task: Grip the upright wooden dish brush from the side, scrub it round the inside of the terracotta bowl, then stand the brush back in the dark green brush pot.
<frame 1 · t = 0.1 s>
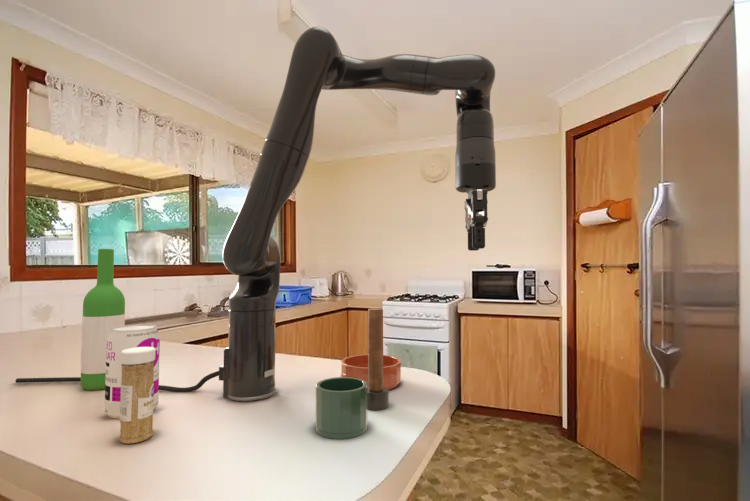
hand: (475, 249, 76), 29 cm above the countertop, tool pointing down, fingers open, 8 cm apart
brush pot: (341, 428, 64), on the countertop
supplement can: (132, 412, 71), on the countertop
brush: (375, 405, 74), on the countertop
bowl: (371, 383, 88), on the countertop
wine bottle: (102, 386, 87), on the countertop
sprinkles bottle: (136, 439, 60), on the countertop
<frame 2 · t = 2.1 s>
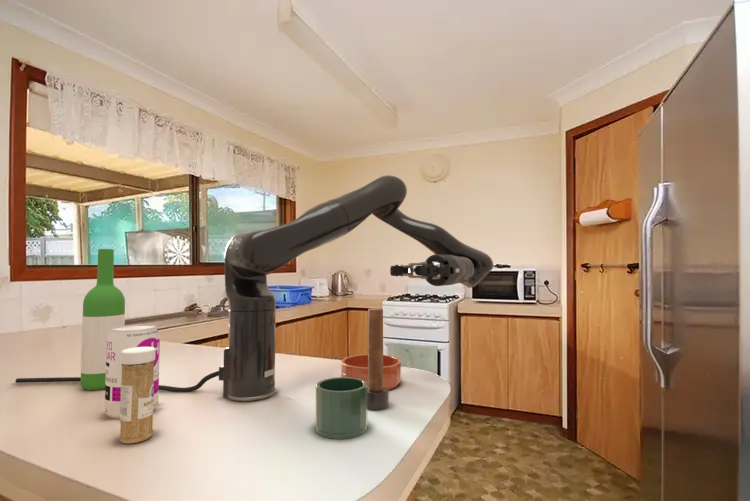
hand: (408, 270, 84), 25 cm above the countertop, tool horizontal, fingers open, 8 cm apart
nothing on the countertop moved.
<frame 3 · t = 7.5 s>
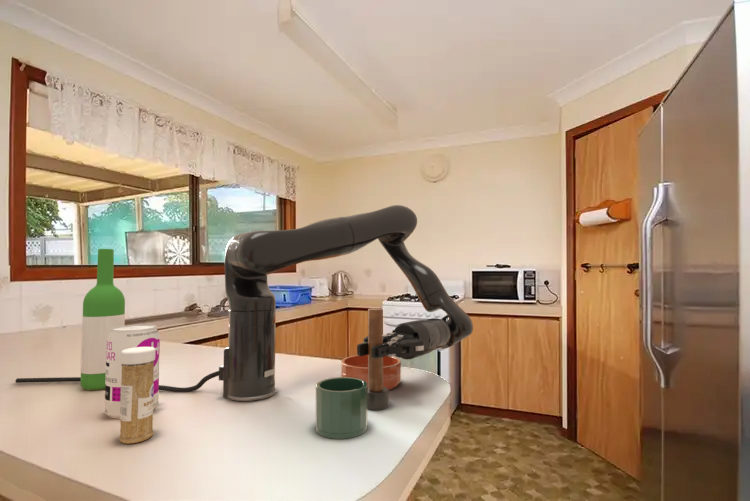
hand: (366, 351, 72), 10 cm above the countertop, tool horizontal, fingers closed on brush, 3 cm apart
brush: (375, 405, 74), on the countertop, touching gripper
everything else where it was.
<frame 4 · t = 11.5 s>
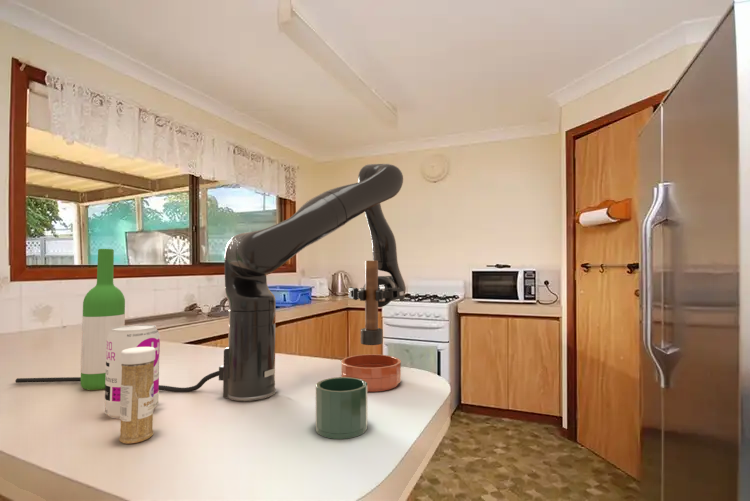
hand: (369, 295, 84), 20 cm above the countertop, tool horizontal, fingers closed on brush, 3 cm apart
brush: (371, 343, 86), point 9 cm above the countertop, touching gripper
everything else where it was.
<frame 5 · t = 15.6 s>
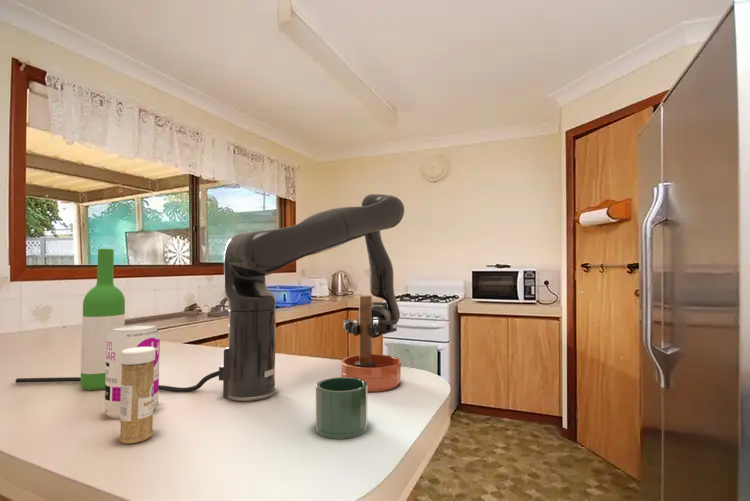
hand: (363, 331, 87), 12 cm above the countertop, tool horizontal, fingers closed on brush, 3 cm apart
brush: (365, 376, 89), point 1 cm above the countertop, touching gripper
everything else where it was.
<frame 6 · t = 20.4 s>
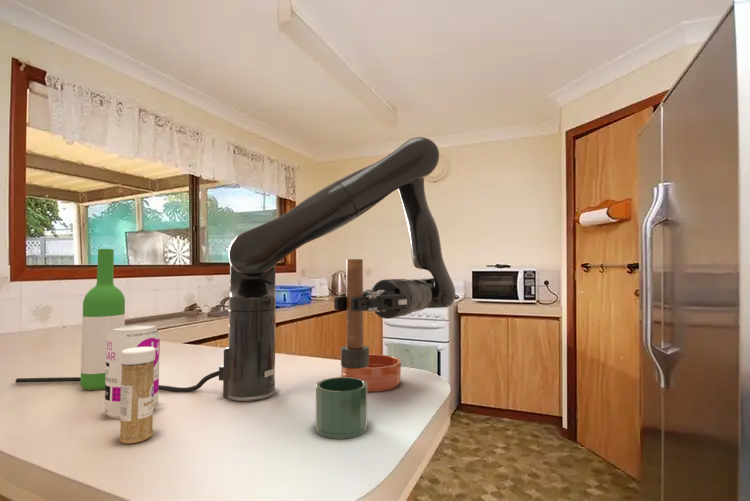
hand: (344, 304, 65), 20 cm above the countertop, tool horizontal, fingers closed on brush, 3 cm apart
brush: (355, 365, 67), point 9 cm above the countertop, touching gripper
everything else where it was.
when the fingers open (11 cm above the countertop, at t = 24.1 s): brush stays where it is, resting on brush pot.
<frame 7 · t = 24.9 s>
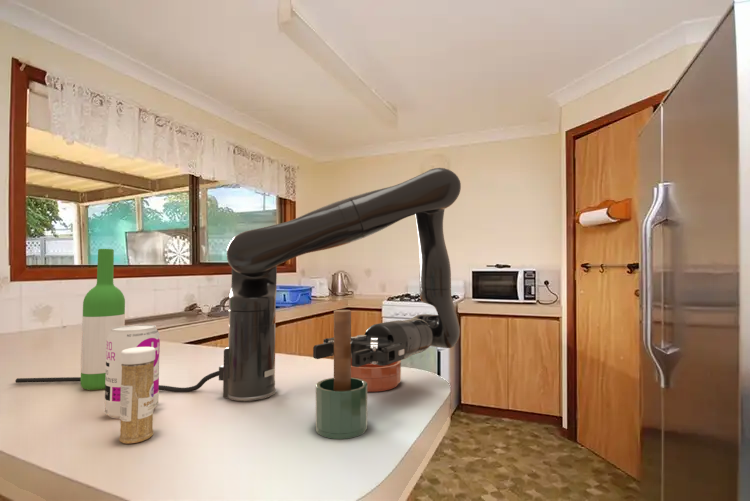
hand: (333, 356, 63), 12 cm above the countertop, tool horizontal, fingers open, 8 cm apart
brush: (342, 422, 64), point 1 cm above the countertop, touching brush pot
everything else where it was.
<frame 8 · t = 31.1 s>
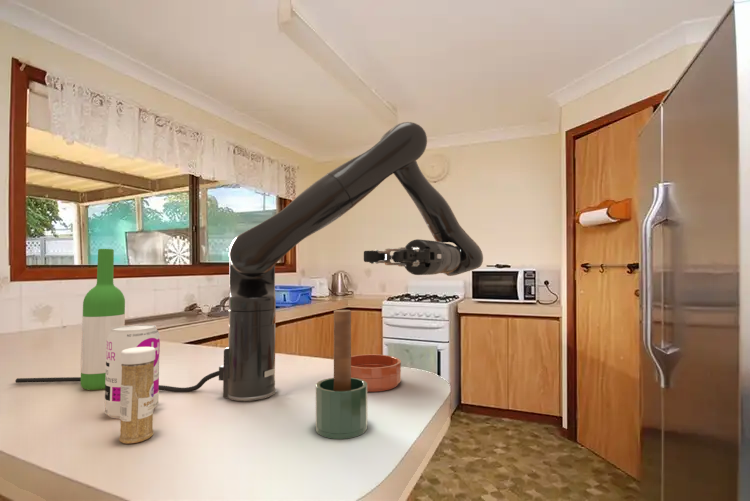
hand: (382, 255, 74), 28 cm above the countertop, tool horizontal, fingers open, 8 cm apart
nothing on the countertop moved.
at the end: brush 0.1 cm off-centre in the brush pot, point 0.8 cm above the brush pot's base; brush tilted 0°; the gripper is holding nothing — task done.
